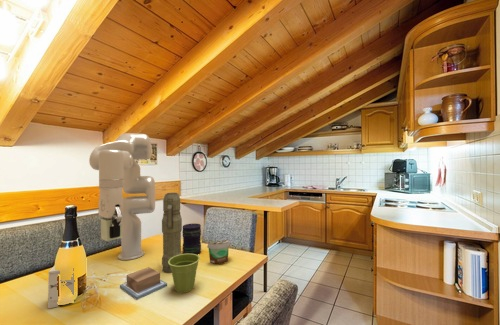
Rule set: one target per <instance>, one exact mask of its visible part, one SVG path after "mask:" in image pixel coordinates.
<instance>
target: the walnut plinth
mask: <svg viewBox="0 0 500 325" xmlns="http://www.w3.org/2000/svg"><path fill="white" fill-rule="evenodd" d="M160 280H161V272H159V271H157V270H156V269H154V268H152V267H149V266H148V267H145V268H142V269H140V270H136V271H134V272H132V273H131V272H130V273H128V274H126V282H127V286H128V287H130V288H131V289H133V290H134V291H136V292H137V293H139V292H141V291H143V290H145V289H148V288H150V287H152V286H155V285H157V284H159V283H160Z"/></svg>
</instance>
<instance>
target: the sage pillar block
mask: <svg viewBox="0 0 500 325" xmlns="http://www.w3.org/2000/svg"><path fill="white" fill-rule="evenodd" d="M114 217H116V215H114ZM114 220H115V219H113V222H114ZM110 227H111V223H110V218H109V219H107V218H103V217H101V218H100V239H101V240H103V241H104V242H109V241H110V242H111V241H115V240H118V239H121V238H122V219H121V225H120V237H116V238H110Z"/></svg>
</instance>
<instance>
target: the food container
mask: <svg viewBox="0 0 500 325" xmlns="http://www.w3.org/2000/svg"><path fill="white" fill-rule="evenodd" d="M230 245H231V242H230V238H227V237H226V239H224V240H219V241H216V242H214V243H209V242H207V246H206V248H207V249H208V257H209V264H210V265H215V266H216V265H224V264H225V263H226V264H227V262H228V260H229V259H228V258H229V249H230V248H229V246H230Z"/></svg>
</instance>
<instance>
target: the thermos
mask: <svg viewBox="0 0 500 325" xmlns="http://www.w3.org/2000/svg"><path fill="white" fill-rule="evenodd" d="M162 206H163V207H162V208H163V210H162V211H163V216H162V219H161V233H162V242H163V243H162V257H161V265H162V273H165V274H172V271H171V268H170V265H169V264H168V261H169V259H170V258H172V257H174V256H177V255H180V254H183V252H182V231H183V220H182V215H181V198H180V195H179V193H177V192H167V193H165V194H164V197H163V200H162Z"/></svg>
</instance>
